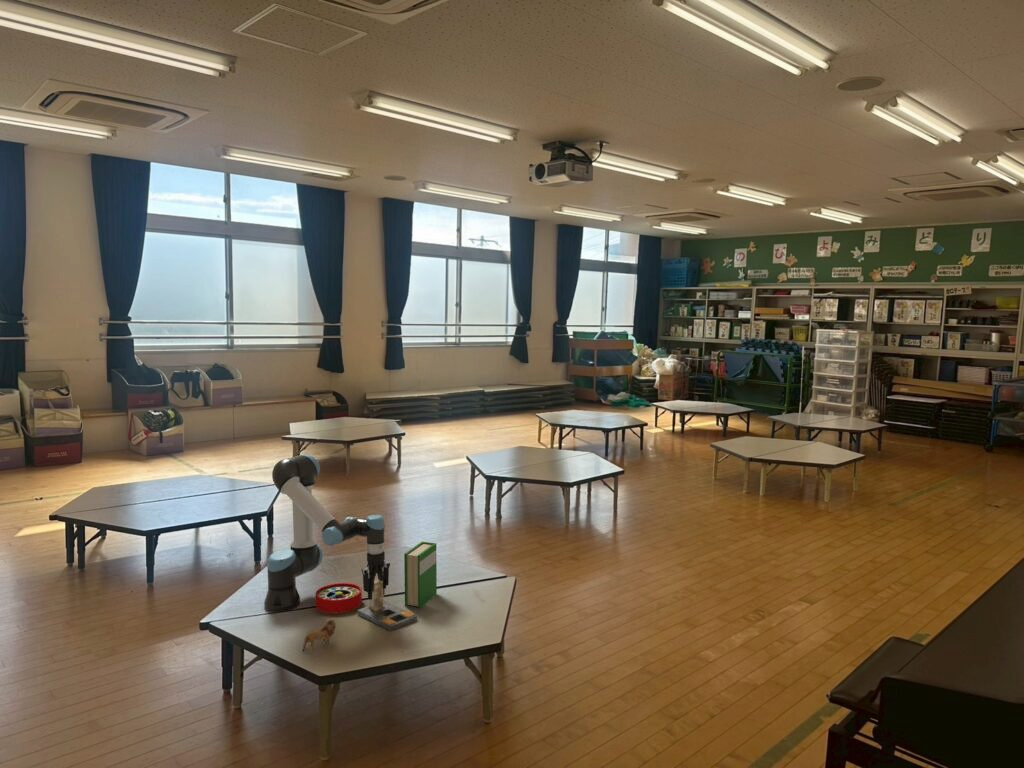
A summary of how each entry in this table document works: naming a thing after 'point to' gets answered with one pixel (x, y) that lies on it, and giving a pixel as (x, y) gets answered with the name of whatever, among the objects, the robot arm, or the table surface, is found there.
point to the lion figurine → (321, 634)
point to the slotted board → (389, 620)
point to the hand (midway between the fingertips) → (376, 604)
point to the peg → (377, 595)
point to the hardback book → (420, 574)
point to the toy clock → (338, 598)
